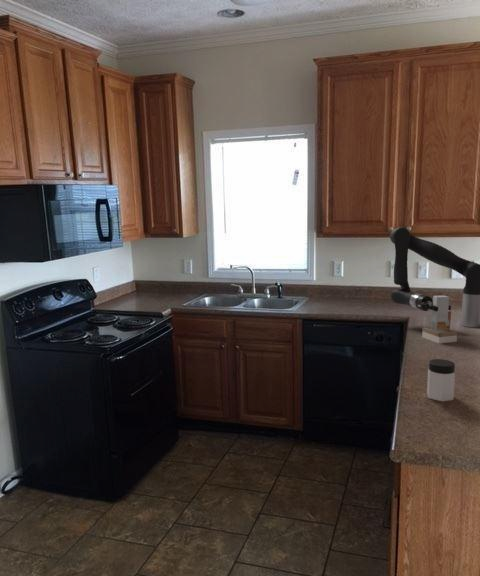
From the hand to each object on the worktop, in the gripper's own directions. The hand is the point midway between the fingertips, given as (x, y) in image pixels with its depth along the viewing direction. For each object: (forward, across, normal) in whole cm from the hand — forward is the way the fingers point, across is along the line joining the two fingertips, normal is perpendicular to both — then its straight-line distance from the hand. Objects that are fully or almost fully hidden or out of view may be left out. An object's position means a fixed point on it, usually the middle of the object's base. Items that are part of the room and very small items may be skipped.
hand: (443, 308), depth 238 cm
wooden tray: (-2, 0, +15) cm, 16 cm away
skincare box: (-2, 0, +7) cm, 7 cm away
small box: (-16, +12, +16) cm, 26 cm away
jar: (+58, -49, +15) cm, 77 cm away
